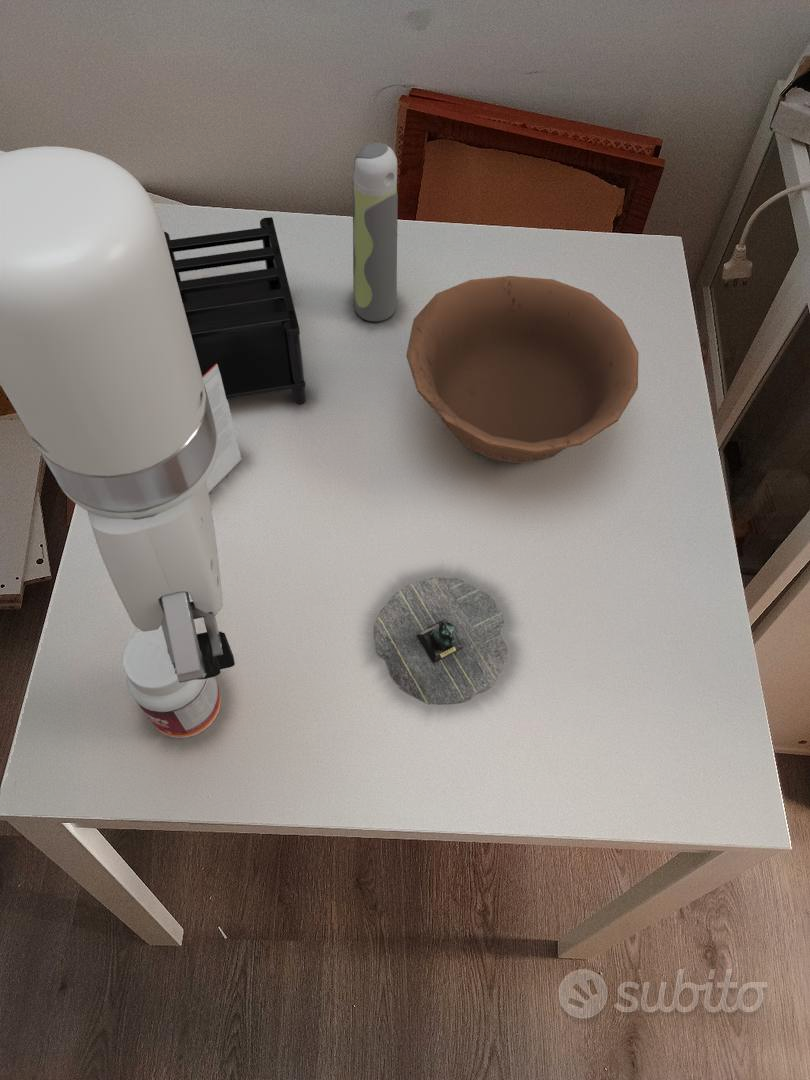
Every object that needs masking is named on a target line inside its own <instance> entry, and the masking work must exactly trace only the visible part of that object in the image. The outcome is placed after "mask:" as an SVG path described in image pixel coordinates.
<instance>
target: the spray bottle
mask: <svg viewBox="0 0 810 1080" xmlns="http://www.w3.org/2000/svg"><path fill="white" fill-rule="evenodd" d="M353 161H354V162H353V172H352V173H353V179H352V273H353V275H352V276H353V280H352V281H353V282H352V283H353V289H352V292H353V295H352V296H353V309H354V311H355V313H356V314H357V315H358V316H359V317H360V318H362V319H363V320H365V321H368V322H372V323H373V322H376V323H377V322H382V321H385V320H387V319H389V318H390V317H392V316H393V315H394V314H395V312H396V309H397V292H398V291H397V288H398V287H397V285H398V283H397V281H398V215H399V214H398V212H399V211H398V209H399V208H398V206H399V205H398V204H399V202H398V201H399V194H398V192H397V189H398V188H397V185H398V159H397V156H396V153H395V152H394V150H393V149H392V148H391V147H390V146H388V145H387V144H385V143H384V142H371V143H369V144H367V145H365V146H363V147H362V148H360V150H359V151H357V153H356V154H355V157H354V159H353Z"/></svg>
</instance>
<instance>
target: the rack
mask: <svg viewBox="0 0 810 1080" xmlns="http://www.w3.org/2000/svg"><path fill="white" fill-rule="evenodd" d="M259 226H260V227H257V228H256V227H255V228H249V229H240V230H233V231H226V232H219V233H213V234H205V235H197V236H189V237H181V238H175V239H171V237H170V234H169V232H166V231H164V234H165V238H166V242H167V245H168V249H169V253H170V257H171V261H172V264H173V268H174V272H175V276H176V279H177V283H178V287H179V291H180V295H181V298H182V302H183V306H184V310H185V314H186V317H187V321H188V325H189V329H190V332H191V336H192V340H193V344H194V347H195V351H196V355H197V359H198V363H199V366H200V370H201V374H202V376H203V375H204V374H206V373H207V372H208V371H209V370H210V369H211V368H212V367H213V366H214V365H215V364H217V365H218V368H219V371H220V374H221V378H222V383H223V387H224V391H225V395H226V399H227V400H233V399H241V398H247V397H251V396H252V397H253V396H257V395H264V394H270V393H275V392H283V391H289V390H291V393H292V401H293V403H294V404H295V405H297V406H301V405H304V404H305V403H307V392H306V385H307V384H306V380H305V373H304V363H303V353H302V346H301V337H300V336H301V331H300V326H299V322H298V318H297V317H298V316H297V314H296V309H295V304H294V301H293V296H292V292H291V288H290V285H289V281H288V280H289V279H288V276H287V271H286V268H285V264H284V259H283V255H282V251H281V247H280V244H279V243H280V242H279V239H278V235H277V231H276V227H275V223H274V218H273V217H272V216H269V217H263V218H261V219H260V221H259ZM259 241H261V243H262V247H261V248H254V249H246V250H239V251H232V252H231V251H230V252H225V253H218V254H217V253H216V254H211V255H203V256H196V257H195V256H194V257H188V258H181V259H176V257H175V253H176V252H183V251H185V252H186V251H192V250H200V249H206V248H207V249H208V248H213V247H214V248H215V247H222V246H227V245H236V244H243V243H250V242H251V243H252V242H259ZM256 262H264V263H265V268H263V269H255V270H249V271H242V272H241V271H240V272H235V273H228V274H220V275H214V276H208V277H207V276H206V277H199V278H193V279H185V280H182V279H181V276H180V273H185V272H192V271H199V270H207V269H213V268H215V269H216V268H221V267H227V266H228V267H229V266H236V265H242V264H250V263H256Z"/></svg>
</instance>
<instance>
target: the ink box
mask: <svg viewBox="0 0 810 1080" xmlns="http://www.w3.org/2000/svg"><path fill="white" fill-rule="evenodd" d="M202 378H203V381H204V385H205V388H206V392H207V396H208V400H209V403H210V407H211V411H212V415H213V418H214V422H215V426H216V430H217V434H218V455H217V458H216V462H215V465H214V467H213V470H212V471H211V473H210V475H209V476H208V478H207V480H206V484H207V489H208V494H209V495H210V493H211V492H212V491H213V490H214V489H215V488H216V487H217V486H218V485H219V484H220V483H221V482H222V481H223V479H225V478H226V477H227V475H228V474H230V472H231V471H233V469H234V468H236V466H237V465H238V464H240V462H241V461H242V455H241V451H240V446H239V442H238V439H237V434H236V430H235V426H234V421H233V418H232V417H233V416H232V412H231V408H230V403H229V401H228V400H229V399H228V400H227V399H226V395H225V391H224V387H223V383H222V378H221V374H220V371H219V368H218V365H217V364H215V365H214V366H213V367H212V368H211V369H210V370H209V371H208V372H207V373H206V374H204V375H203V376H202Z"/></svg>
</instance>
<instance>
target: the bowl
mask: <svg viewBox="0 0 810 1080" xmlns="http://www.w3.org/2000/svg"><path fill="white" fill-rule="evenodd" d="M406 359H407V363H408V365H409V369H410V372H411V375H412V379H413V381H414V385H415V389H416V392H417V393H418V395H420V396H421V397H422V399H423V400H424V401H425V402H426V403H427V404H428V405H429V406H430V407H431V408H432V409H433V411H434V412H435V413H436V414H437V415H438V416H439V417H440V420H441V422H442V424H443V425H444V426H445V427H446V428H447V429H448V430H449V431H450V432H451V434H452V435H453V436H454V437H455V438H456V439H457V440H458V441H459V443H460V444H462V445H463V446H464V447H466V448H468V449H469V450H472V451H474V452H475V453H478V454H480V455H482V456H483V457H486V458H488V459H489V460H494V461H501V462H508V463H513V464H525V463H531V462H536V461H540V460H542V461H543V460H546V459H547V460H548V459H551V458H553V457H555V456H557V455H558V454H559V453H562V452H563V451H564V450H566V449H568V448H571V447H577V446H581V445H583V444H585V443H586V442H588V441H589V440H591V439H593V438H594V437H596V436H597V435H599V434H601V433H602V432H603V431H606V429H608V428H610V427H611V426H613V425H614V424H616V423H617V422H618V421H619V420H620V418H621V417H622V415H623V413H624V412H625V410H626V408H627V407H628V405H630V404H629V403H630V402H631V401H632V398H633V397H634V396H635V394H636V392H637V391H638V387H639V351H638V349H637V347H636V345H635V343H634V341H633V339H632V337H631V334H630V333H629V331H628V329H627V327H626V324H625V323H624V320H623V319H621V317H619V315H617V314H616V313H615V312H613V311H612V309H610V308H609V307H608V306H607V305H606V304H605V303H604V302H603V301H601V300H600V299H599V298H598V297H597V296H595V294H593V293H591V292H588V291H586V290H583V289H580V288H577V287H575V286H572V285H570V284H567V283H564V282H561V281H559V280H556V279H554V278H553V279H552V278H540V277H528V276H517V275H516V276H515V275H505V276H497V277H495V276H494V277H485V278H474V279H468V280H466V281H464V282H461V283H458V284H457V285H454V286H451V287H449V288H447V289H444V290H442V291H439V292H437V293H435V294H434V295H433V297H432V298H431V299H430V300H429V301H428V302H427V303H426V305H425V306H424V307H423V308H422V309H421V310H420V311H419V312H418V313H417V314H416V316H415V317H414V318H413V321H412V325H411V330H410V336H409V339H408V345H407V350H406Z"/></svg>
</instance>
